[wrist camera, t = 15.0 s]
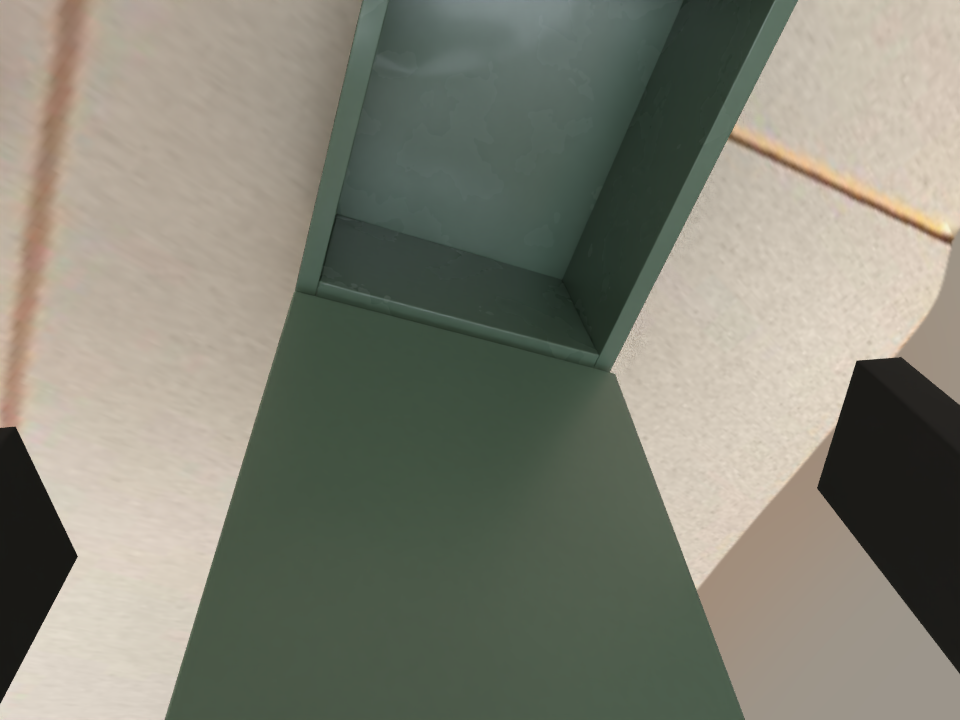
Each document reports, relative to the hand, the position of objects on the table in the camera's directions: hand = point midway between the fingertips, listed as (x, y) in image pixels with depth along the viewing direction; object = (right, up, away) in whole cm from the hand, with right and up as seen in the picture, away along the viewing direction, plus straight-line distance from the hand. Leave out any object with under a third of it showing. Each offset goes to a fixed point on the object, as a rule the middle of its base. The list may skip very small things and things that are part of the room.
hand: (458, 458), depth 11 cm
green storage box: (+2, +16, +24) cm, 29 cm away
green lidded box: (0, -3, +12) cm, 12 cm away
